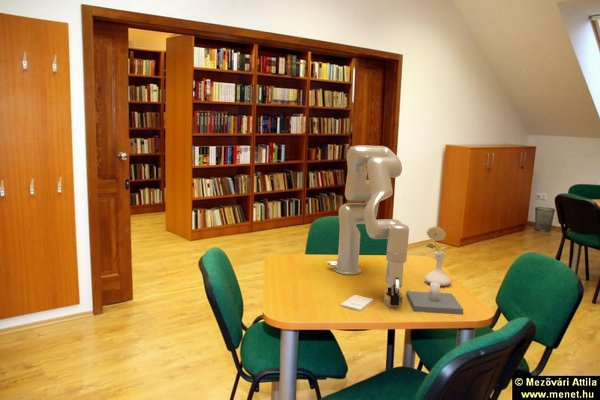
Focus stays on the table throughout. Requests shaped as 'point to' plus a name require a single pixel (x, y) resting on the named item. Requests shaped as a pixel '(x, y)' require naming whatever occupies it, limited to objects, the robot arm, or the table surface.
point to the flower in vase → (437, 274)
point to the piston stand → (434, 301)
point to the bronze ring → (387, 299)
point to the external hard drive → (356, 303)
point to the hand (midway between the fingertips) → (392, 300)
